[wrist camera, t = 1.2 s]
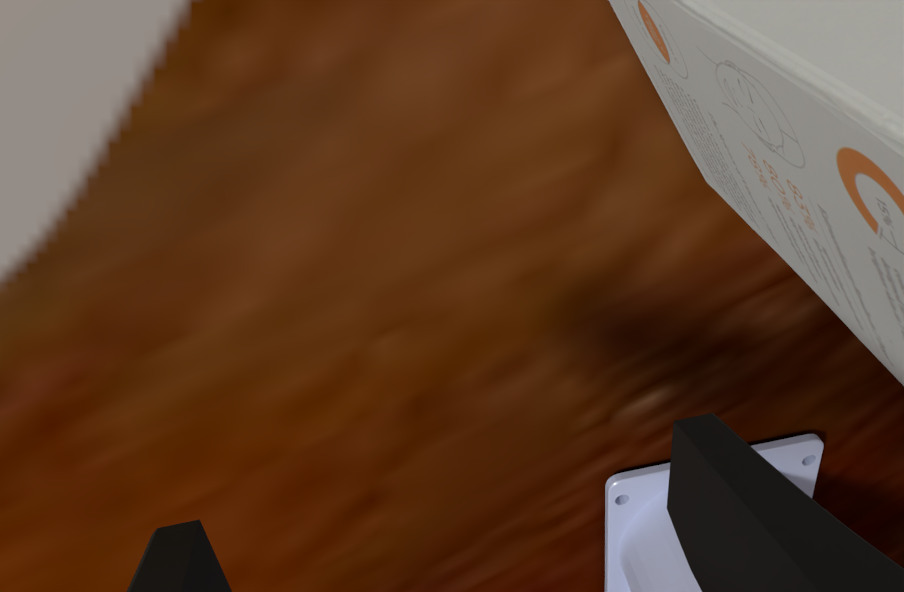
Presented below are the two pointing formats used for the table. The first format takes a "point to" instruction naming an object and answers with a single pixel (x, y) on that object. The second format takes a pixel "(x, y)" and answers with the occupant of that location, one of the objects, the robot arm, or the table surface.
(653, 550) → the robot arm
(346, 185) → the table surface
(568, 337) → the table surface
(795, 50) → the small box
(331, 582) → the table surface
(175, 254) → the table surface
